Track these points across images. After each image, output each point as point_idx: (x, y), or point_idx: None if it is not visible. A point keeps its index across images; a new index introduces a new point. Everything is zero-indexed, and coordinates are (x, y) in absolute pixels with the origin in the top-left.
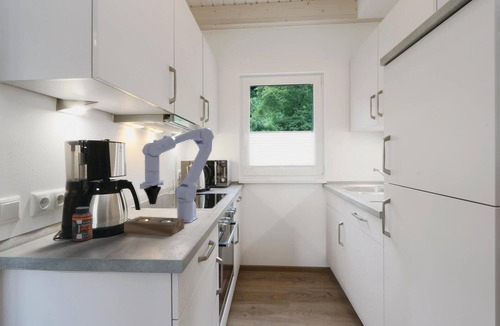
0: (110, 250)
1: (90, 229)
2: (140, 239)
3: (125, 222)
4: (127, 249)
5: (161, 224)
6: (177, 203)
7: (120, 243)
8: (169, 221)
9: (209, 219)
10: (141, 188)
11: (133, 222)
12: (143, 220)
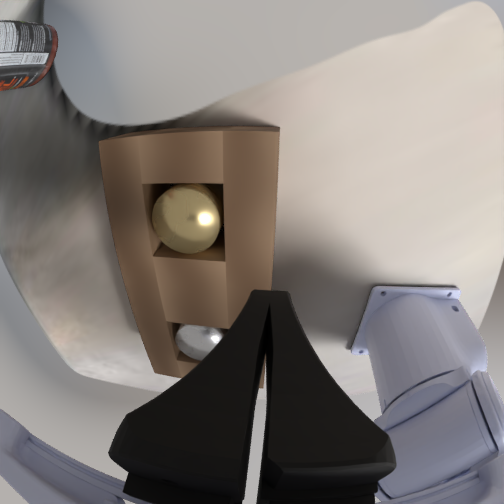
0: (17, 234)
1: (10, 87)
2: (93, 263)
3: (100, 150)
4: (38, 271)
5: (143, 342)
6: (414, 375)
7: (46, 222)
8: (200, 356)
9: None
10: (11, 423)
11: (111, 203)
12: (174, 228)
